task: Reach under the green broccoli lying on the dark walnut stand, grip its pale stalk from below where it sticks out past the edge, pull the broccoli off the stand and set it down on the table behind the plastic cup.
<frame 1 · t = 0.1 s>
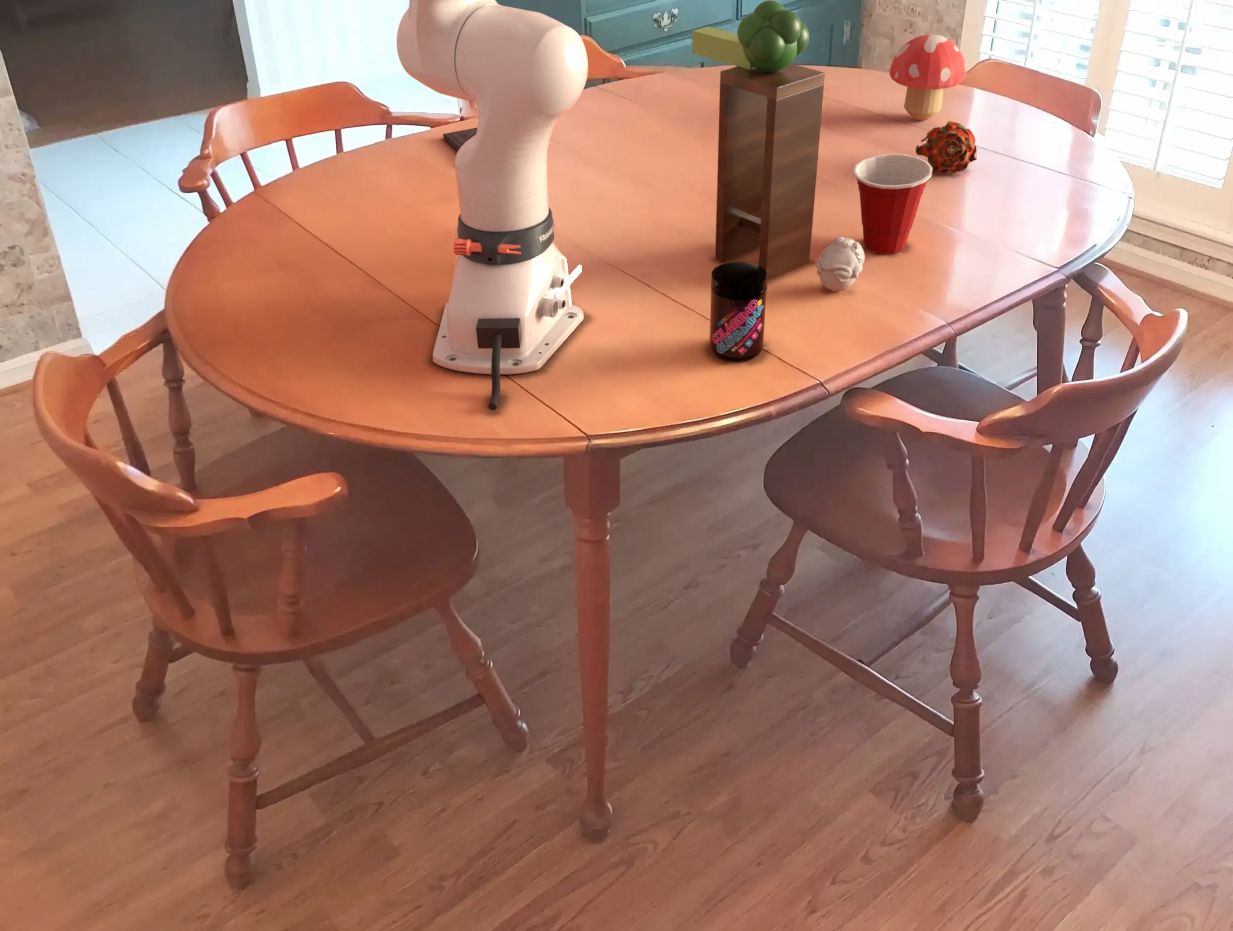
decorative mushroom: (920, 120, 203), on the table
supplement container: (736, 351, 136), on the table
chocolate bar: (484, 150, 196), on the table
dragon fruit: (943, 170, 183), on the table
white rounded carved piece: (837, 290, 149), on the table
broccoli: (769, 71, 141), point 26 cm above the table, touching wooden stand
plastic cup: (883, 248, 159), on the table
wooden stand: (761, 260, 156), on the table
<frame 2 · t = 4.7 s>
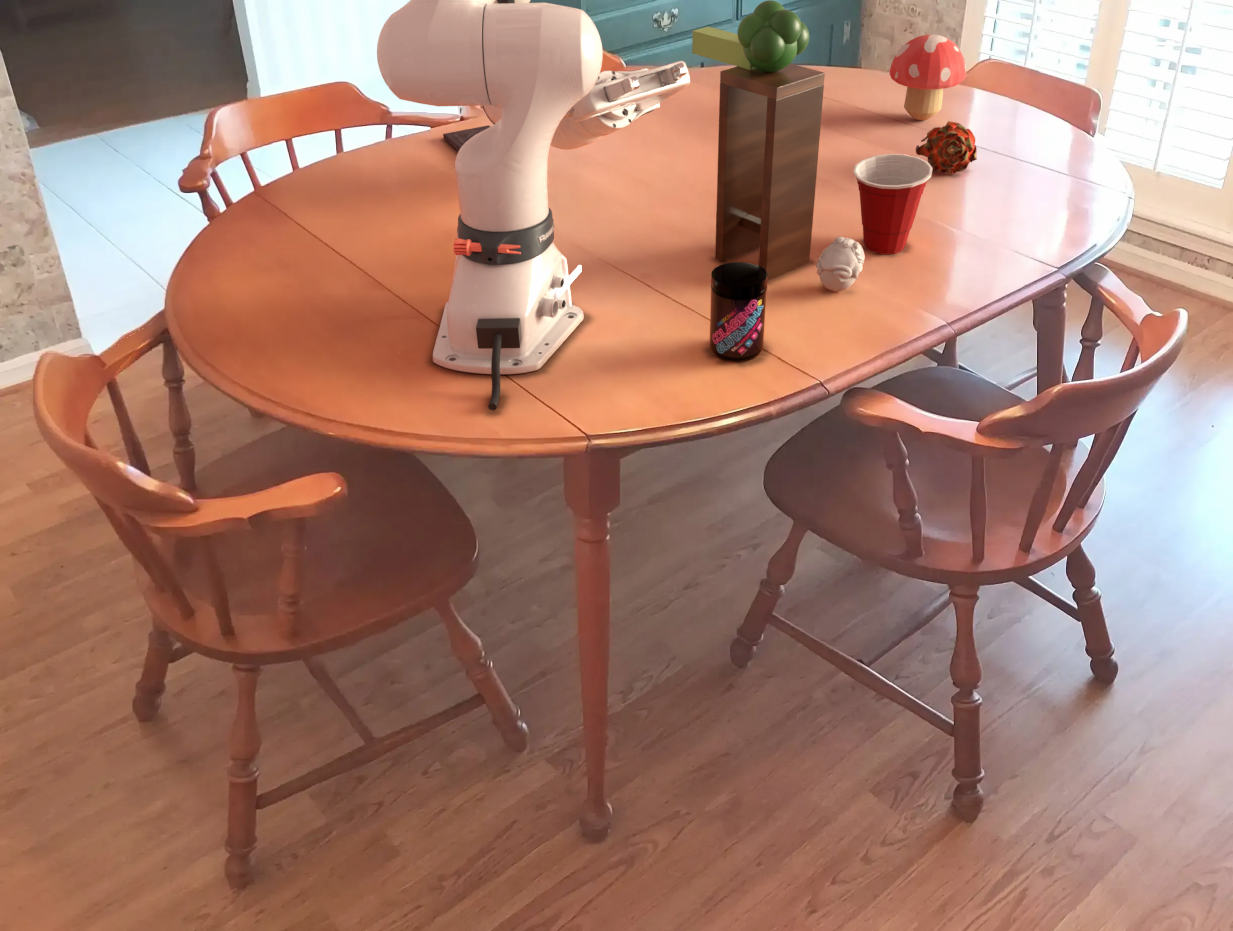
hand: (659, 75, 158), 22 cm above the table, tool pointing upward, fingers open, 8 cm apart
nothing on the table moved.
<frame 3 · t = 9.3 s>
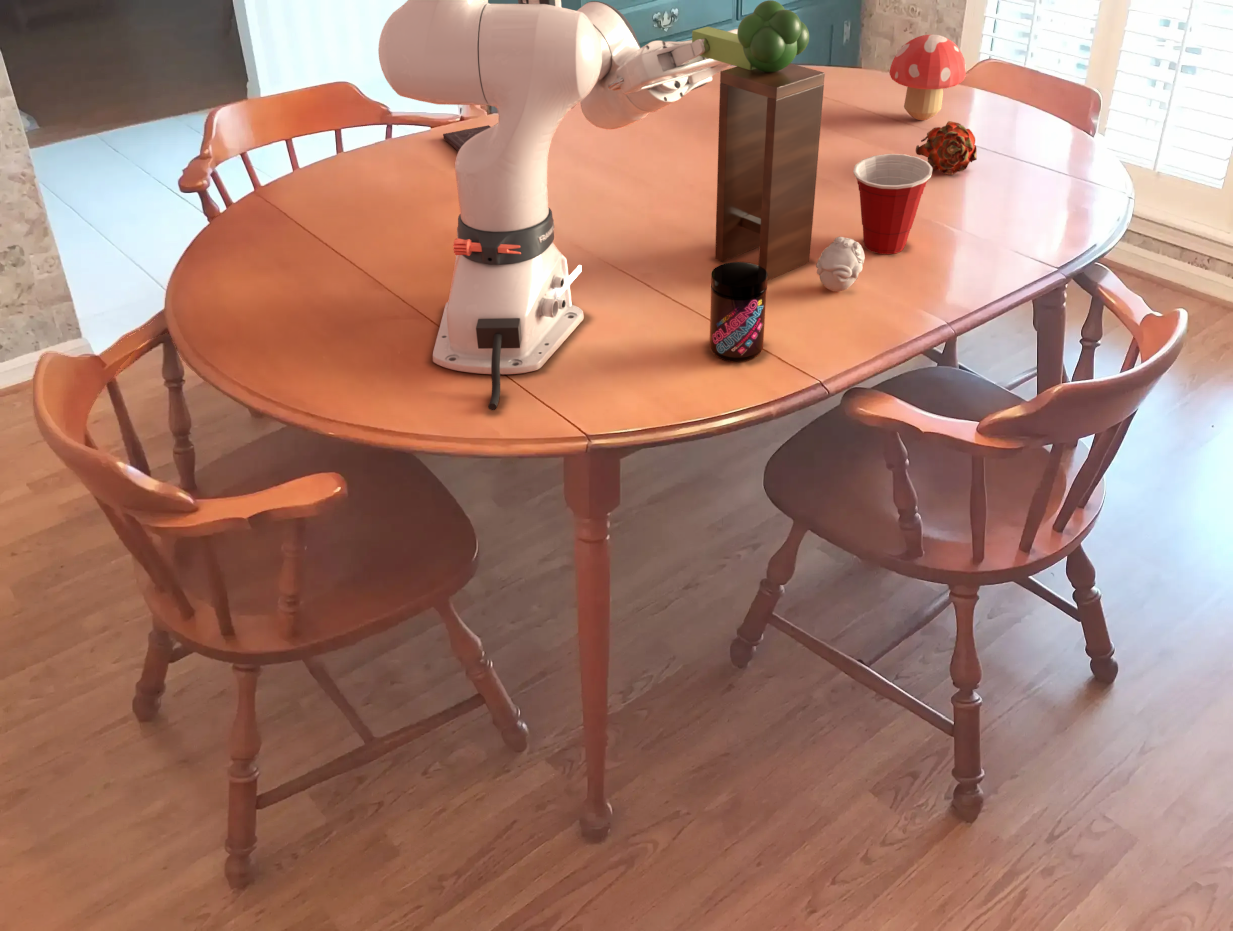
hand: (717, 41, 146), 28 cm above the table, tool pointing upward, fingers closed on broccoli, 3 cm apart
broccoli: (769, 71, 141), point 26 cm above the table, touching gripper, wooden stand
everything else where it was.
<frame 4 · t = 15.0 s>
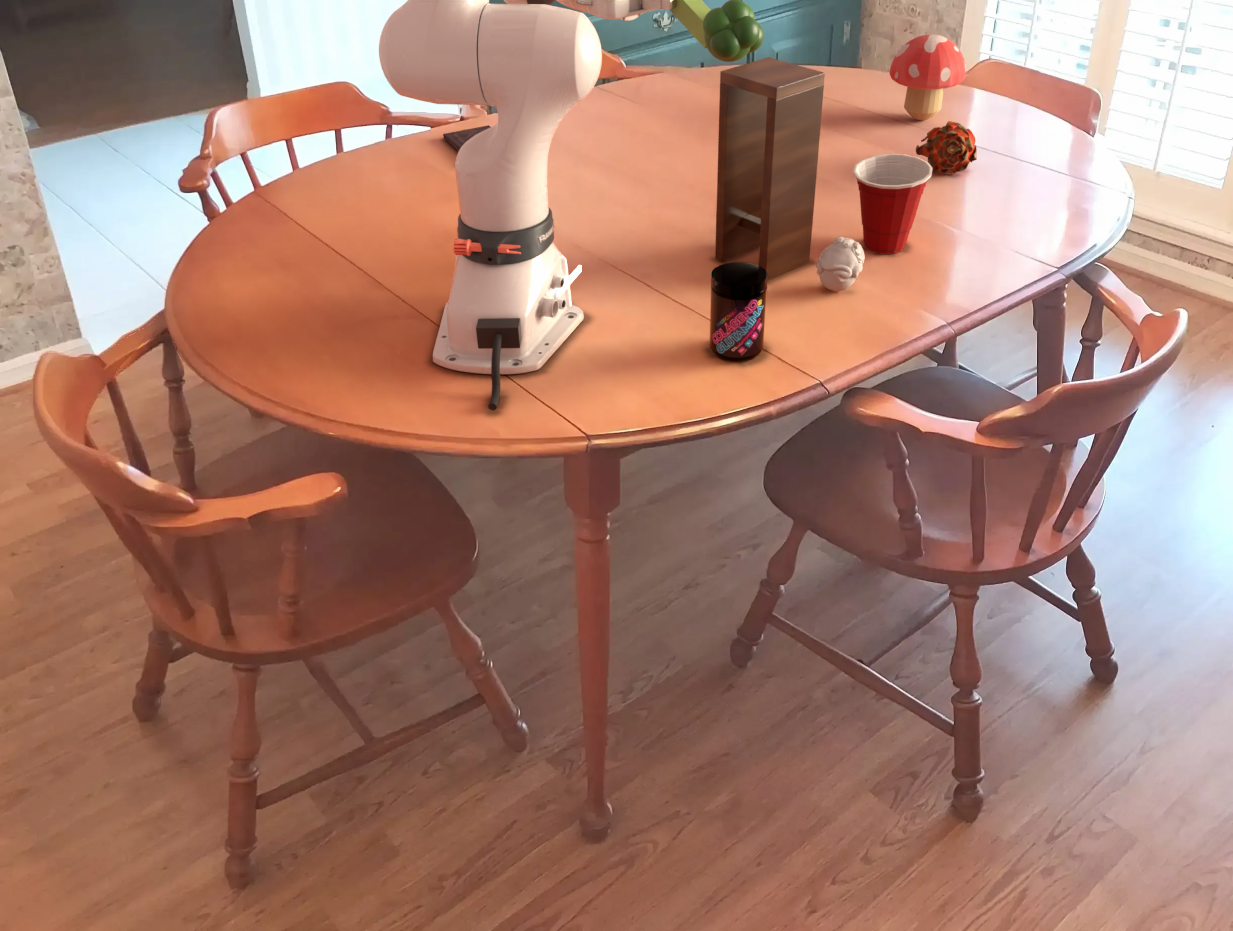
hand: (684, 0, 158), 30 cm above the table, tool horizontal, fingers closed on broccoli, 3 cm apart
broccoli: (720, 55, 157), point 24 cm above the table, tilted 28°, touching gripper
everything else where it was.
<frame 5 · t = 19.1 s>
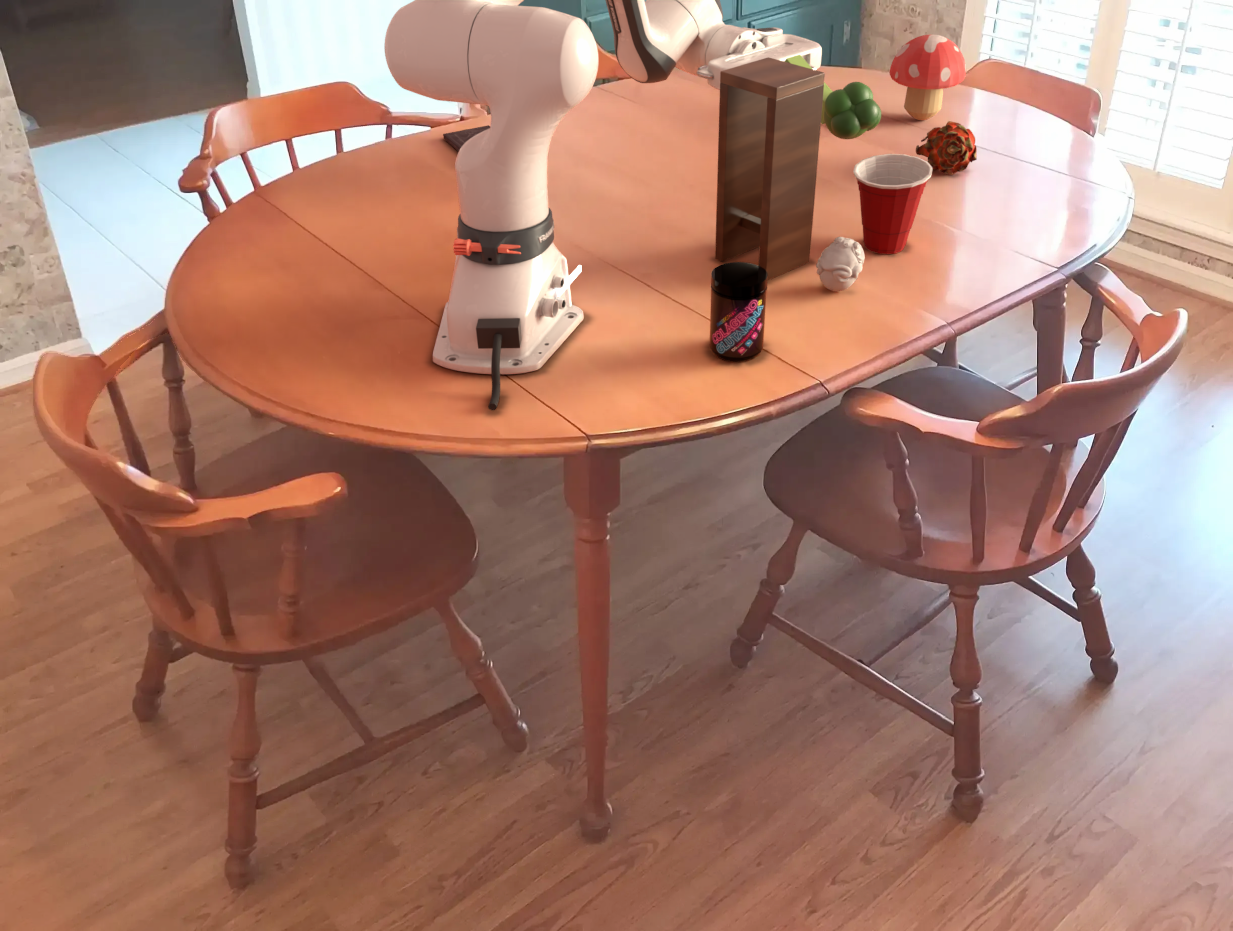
hand: (803, 76, 165), 19 cm above the table, tool horizontal, fingers closed on broccoli, 3 cm apart
broccoli: (837, 131, 164), point 12 cm above the table, tilted 30°, touching gripper
everything else where it was.
when the fingers open (7 cm above the table, at t = 22.6 s): broccoli stays where it is, on the table.
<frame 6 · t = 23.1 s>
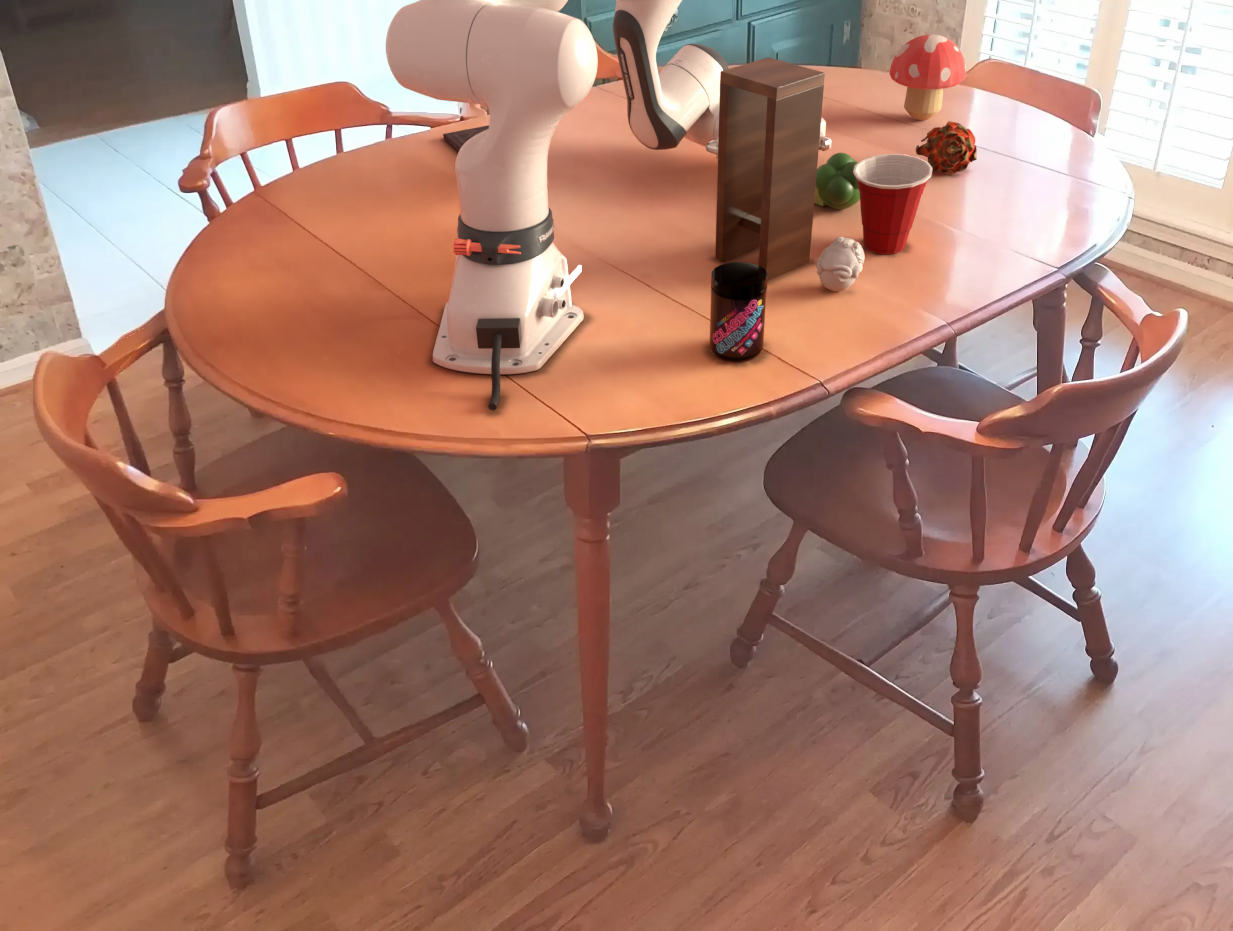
hand: (808, 152, 171), 7 cm above the table, tool horizontal, fingers open, 8 cm apart
broccoli: (838, 207, 171), on the table
everything else where it was.
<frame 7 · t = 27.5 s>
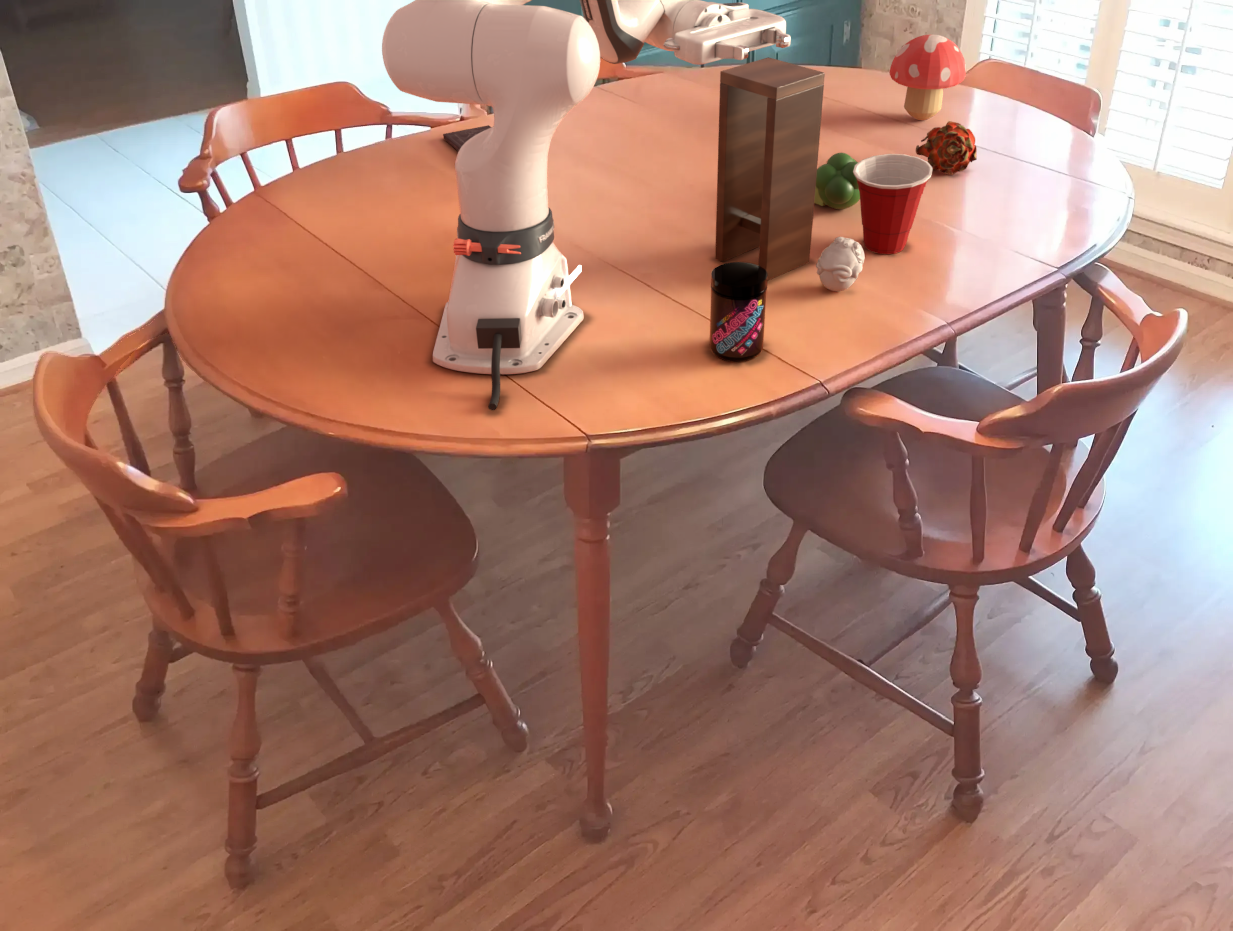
hand: (766, 48, 170), 21 cm above the table, tool horizontal, fingers open, 8 cm apart
nothing on the table moved.
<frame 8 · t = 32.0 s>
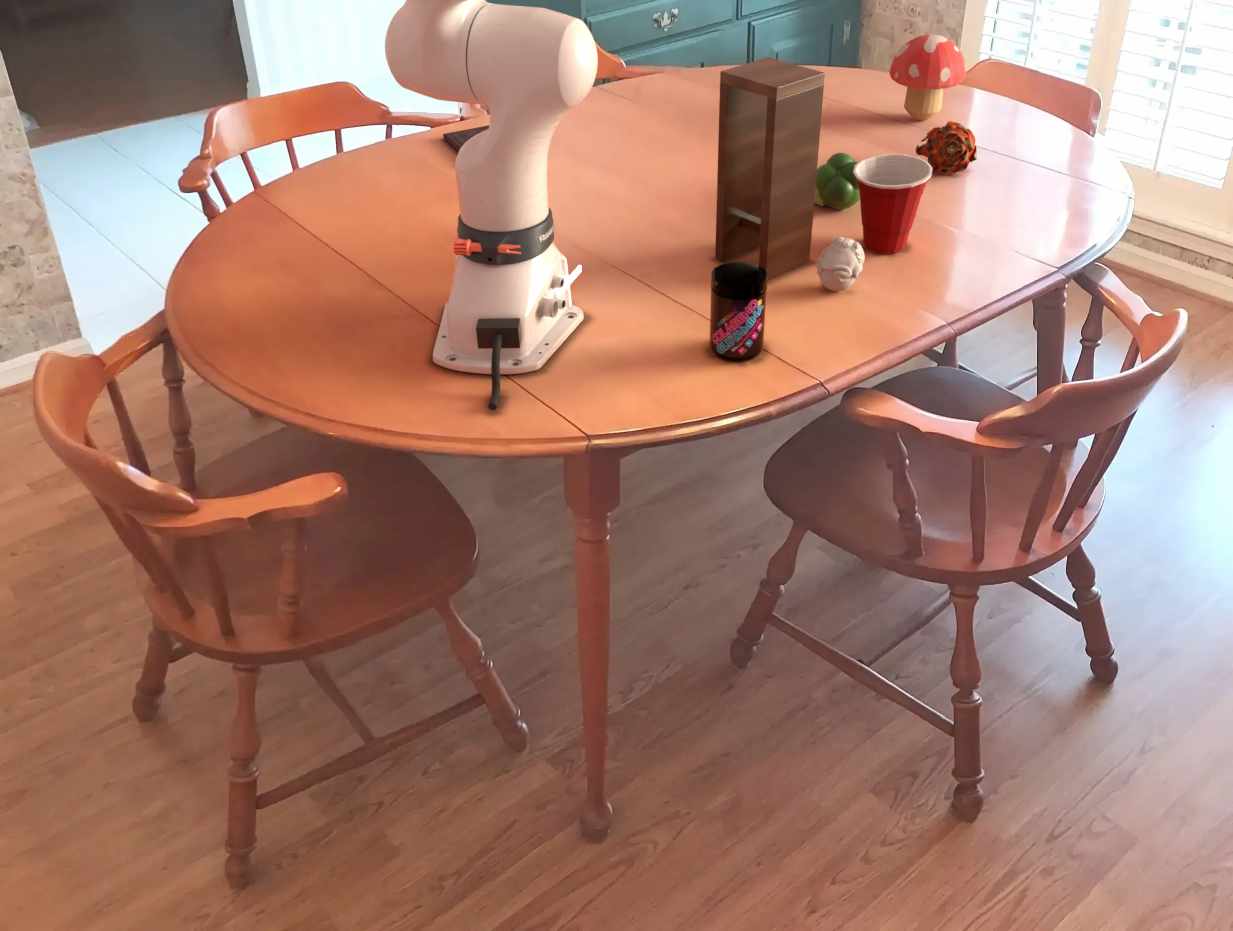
nothing on the table moved.
at the end: broccoli inside the target area on the table beside the plastic cup (2.2 cm from its centre), on the table; the gripper is holding nothing; plastic cup moved 0.2 cm from its start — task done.
